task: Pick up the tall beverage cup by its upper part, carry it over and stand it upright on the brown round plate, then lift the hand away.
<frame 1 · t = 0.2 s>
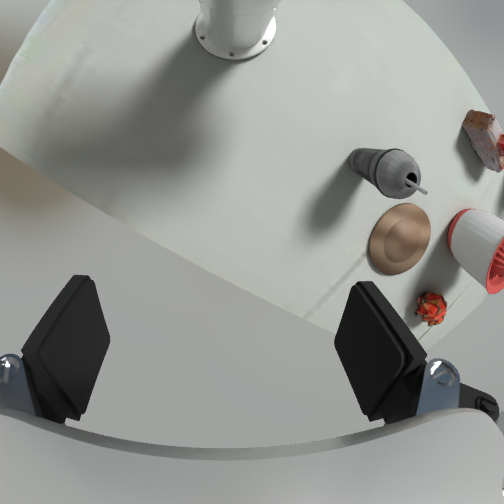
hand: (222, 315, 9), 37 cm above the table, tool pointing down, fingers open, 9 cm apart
food item: (476, 138, 42), on the table
beverage cup: (359, 160, 44), on the table
dragon fruit: (423, 299, 60), on the table
citrus juicer: (462, 231, 52), on the table
brown round plate: (400, 239, 51), on the table
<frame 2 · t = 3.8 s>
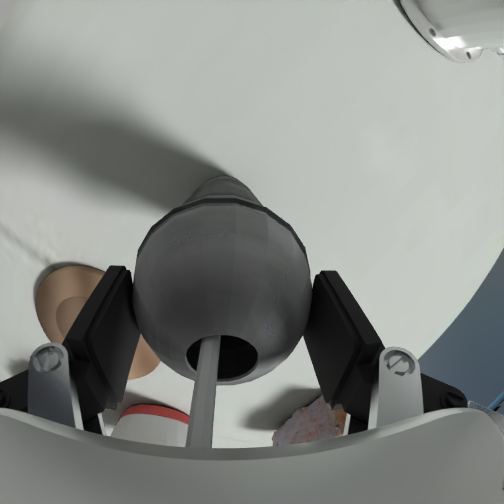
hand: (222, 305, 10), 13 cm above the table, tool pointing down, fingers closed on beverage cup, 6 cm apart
food item: (309, 411, 37), on the table
beverage cup: (223, 203, 21), on the table, touching gripper
citrus juicer: (160, 421, 36), on the table
brown round plate: (96, 328, 26), on the table
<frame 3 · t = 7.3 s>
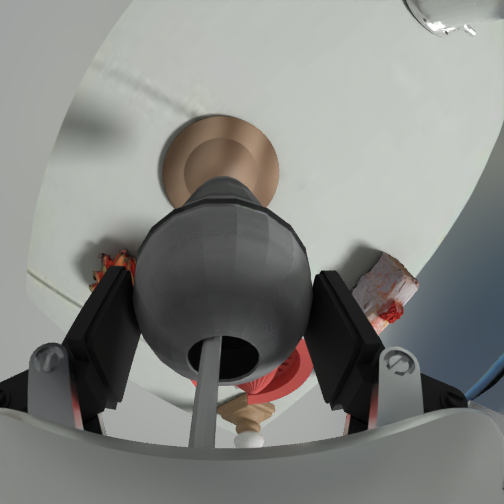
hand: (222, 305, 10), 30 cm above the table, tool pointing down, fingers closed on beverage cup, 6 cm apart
food item: (369, 283, 48), on the table
beverage cup: (222, 203, 21), point 17 cm above the table, touching gripper
candle holder: (245, 406, 63), on the table
dragon fruit: (124, 269, 42), on the table
citrus juicer: (240, 298, 47), on the table
brown round plate: (220, 173, 37), on the table
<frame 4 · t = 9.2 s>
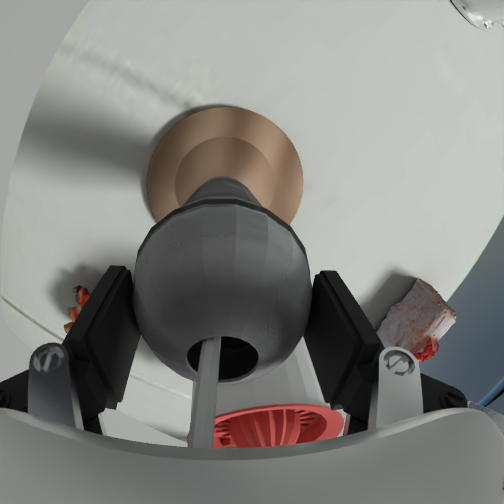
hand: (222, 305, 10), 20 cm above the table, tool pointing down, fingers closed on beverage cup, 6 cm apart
food item: (399, 312, 39), on the table
beverage cup: (222, 203, 21), point 7 cm above the table, touching gripper
dragon fruit: (106, 302, 33), on the table
citrus juicer: (249, 336, 37), on the table
brown round plate: (224, 184, 27), on the table
when the fingers open (15 cm above the table, at t = 10.7 s): beverage cup drops 1 cm, resting on brown round plate.
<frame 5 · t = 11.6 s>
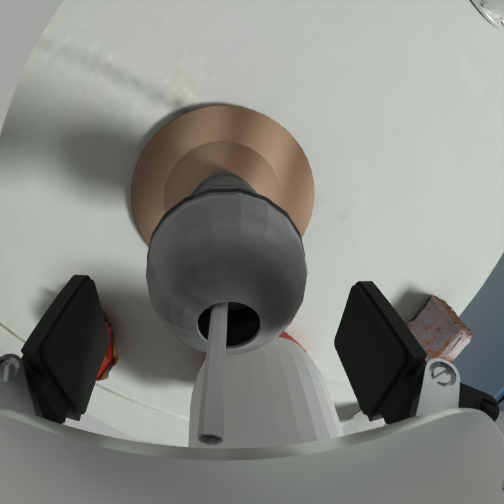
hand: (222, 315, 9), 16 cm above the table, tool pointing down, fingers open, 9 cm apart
food item: (411, 331, 35), on the table
milk: (371, 408, 45), on the table
beverage cup: (223, 197, 23), point 1 cm above the table, touching brown round plate
dragon fruit: (94, 325, 29), on the table
citrus juicer: (250, 361, 33), on the table
brown round plate: (222, 197, 24), on the table
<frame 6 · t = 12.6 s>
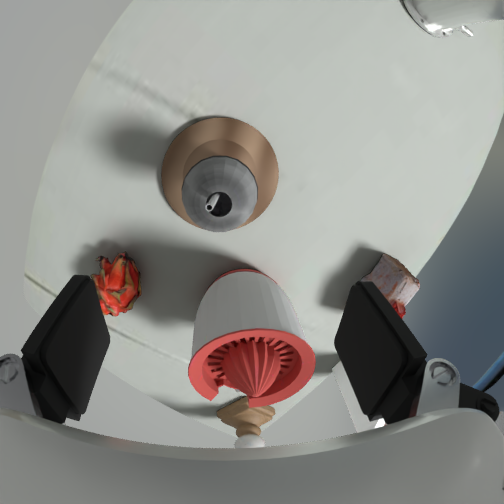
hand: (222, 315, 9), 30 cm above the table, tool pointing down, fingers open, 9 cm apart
food item: (370, 284, 48), on the table
milk: (347, 362, 57), on the table
beverage cup: (220, 174, 36), point 1 cm above the table, touching brown round plate
candle holder: (245, 409, 62), on the table
dragon fruit: (122, 272, 42), on the table
citrus juicer: (240, 300, 46), on the table
brown round plate: (219, 174, 36), on the table
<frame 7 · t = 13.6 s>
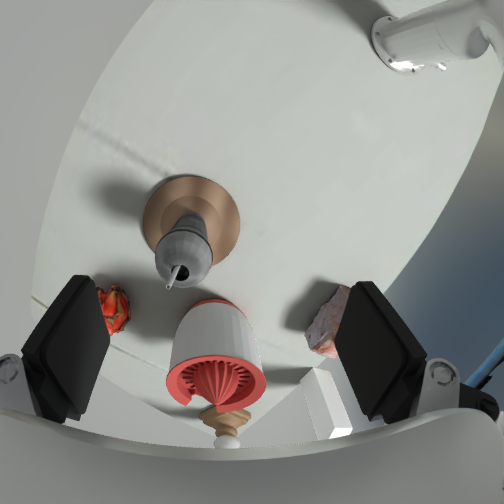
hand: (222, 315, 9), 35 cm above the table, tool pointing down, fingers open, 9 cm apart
food item: (330, 310, 56), on the table
milk: (314, 375, 65), on the table
beverage cup: (191, 224, 43), point 1 cm above the table, touching brown round plate
candle holder: (224, 413, 69), on the table
dragon fruit: (115, 299, 49), on the table
citrus juicer: (213, 323, 54), on the table
brown round plate: (191, 224, 44), on the table
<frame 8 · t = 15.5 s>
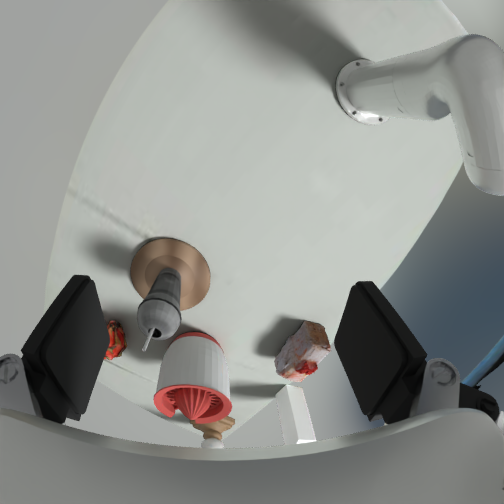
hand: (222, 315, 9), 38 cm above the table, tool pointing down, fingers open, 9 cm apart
food item: (297, 340, 63), on the table
milk: (288, 390, 73), on the table
beverage cup: (169, 277, 51), point 1 cm above the table, touching brown round plate
candle holder: (212, 419, 78), on the table
dragon fruit: (113, 329, 57), on the table
citrus juicer: (195, 349, 62), on the table
brown round plate: (170, 275, 52), on the table
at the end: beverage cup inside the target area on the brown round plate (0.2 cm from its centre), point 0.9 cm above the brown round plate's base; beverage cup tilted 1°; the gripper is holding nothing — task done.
